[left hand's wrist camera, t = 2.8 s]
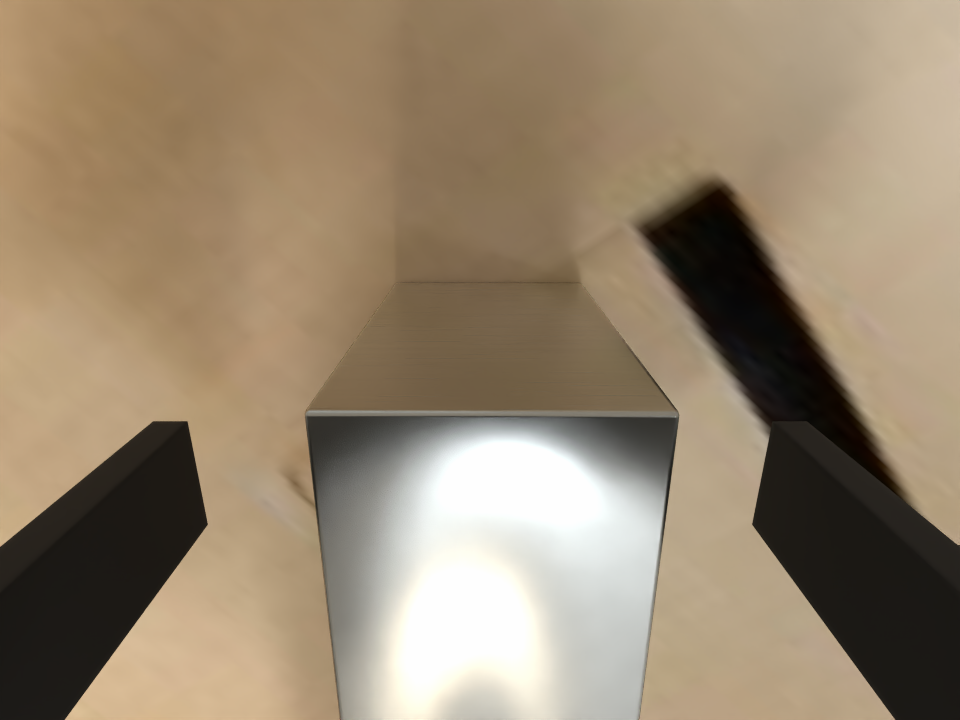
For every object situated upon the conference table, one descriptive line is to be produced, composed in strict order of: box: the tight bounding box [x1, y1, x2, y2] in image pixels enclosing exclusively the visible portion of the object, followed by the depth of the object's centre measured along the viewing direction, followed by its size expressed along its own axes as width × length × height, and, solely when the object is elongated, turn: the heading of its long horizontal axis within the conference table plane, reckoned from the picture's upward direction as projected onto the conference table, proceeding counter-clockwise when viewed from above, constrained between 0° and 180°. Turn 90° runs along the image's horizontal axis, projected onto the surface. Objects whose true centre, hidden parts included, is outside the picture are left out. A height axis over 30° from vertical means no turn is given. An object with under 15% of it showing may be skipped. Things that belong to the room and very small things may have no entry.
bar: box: [305, 283, 679, 720], centre depth 15 cm, size 21×5×8 cm, turn 0°
